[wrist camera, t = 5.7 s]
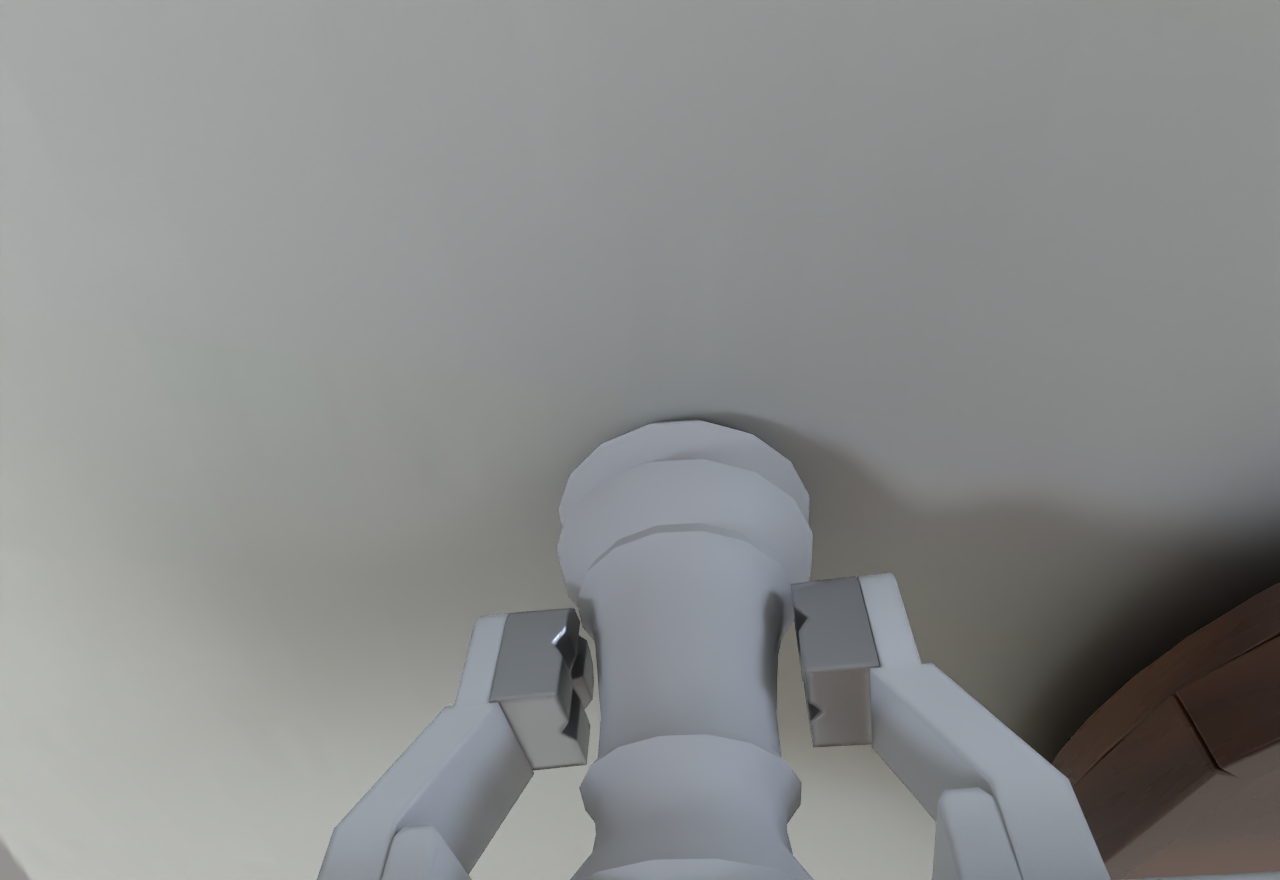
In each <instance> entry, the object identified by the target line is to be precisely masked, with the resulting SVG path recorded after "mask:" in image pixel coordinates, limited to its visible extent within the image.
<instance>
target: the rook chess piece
mask: <svg viewBox="0 0 1280 880" xmlns="http://www.w3.org/2000/svg"><path fill="white" fill-rule="evenodd" d="M809 499H810V496H809V494H808V493H807V491H806V489H805V487H804V485H803V483H802V481H801V480H800V478H799V476H798V474H797V472H796V470H795V468H794V467H793V465H792V463H791V461H789V460H788V459H787V458H785V457H784V456H782V455H781V454H780V453H778V452H777V451H775V450H774V449H773V448H771V447H770V446H768V445H767V444H766V443H764V442H763V441H762V440H760V439H759V438H757V437H756V436H755V435H753V434H750V433H747V432H743V431H740V430H736V429H732V428H728V427H725V426H721V425H717V424H713V423H709V422H706V421H702V420H684V421H668V422H654V423H651V424H648V425H645V426H643V427H641V428H638V429H636V430H633V431H631V432H629V433H626V434H624V435H621V436H619V437H616V438H614V439H612V440H609V441H607V442H604V443H602V444H600V445H599V446H598V447H597V448H596V449H595V450H594V451H593V452H592V453H591V454H590V455H589V456H588V457H587V458H586V459H585V460H584V461H583V462H582V463H581V464H580V465H579V466H578V467H577V468H576V469H575V470H574V471H573V472H572V473H571V474H570V476H569V479H568V482H567V485H566V488H565V491H564V494H563V497H562V500H561V503H560V506H559V510H558V512H559V516H560V521H561V525H562V532H561V535H560V538H559V541H558V544H557V550H558V554H559V559H560V563H561V568H562V572H563V576H564V581H565V585H566V589H567V594H568V597H569V598H570V599H571V601H572V602H573V603H574V604H575V605H576V606H577V607H578V609H579V613H580V617H581V622H582V626H583V628H584V629H585V630H586V632H587V633H588V634H589V635H590V636H591V637H592V638H593V640H594V641H595V645H596V658H597V671H598V684H599V698H600V711H601V723H600V737H599V750H598V759H597V760H596V761H595V762H594V763H593V764H592V765H591V766H590V768H589V770H588V772H587V774H586V776H585V778H584V780H583V782H582V784H581V786H580V792H581V795H582V799H583V803H584V806H585V810H586V811H587V813H588V814H589V815H590V817H591V818H592V819H593V821H594V822H595V825H596V837H595V842H594V847H593V852H592V854H591V855H590V856H589V857H588V859H587V860H586V861H585V862H584V863H583V865H582V866H581V867H580V868H579V870H578V871H577V872H576V873H575V875H574V876H573V877H572V878H571V880H813V879H812V877H811V876H810V875H809V874H808V873H807V872H806V870H805V869H804V868H803V867H802V866H801V864H800V863H799V862H798V861H797V860H796V859H795V857H794V856H793V853H792V849H791V846H790V842H789V838H788V834H787V823H788V822H789V820H790V819H791V818H792V816H793V815H794V813H795V812H796V810H797V809H798V808H799V806H800V802H801V781H800V780H799V778H798V777H797V776H796V774H795V773H794V772H793V770H792V769H791V768H790V767H789V765H788V764H787V763H786V761H785V760H784V759H783V758H782V756H781V748H780V740H779V732H778V724H777V716H776V706H777V669H778V653H779V648H780V643H781V638H782V636H783V635H784V633H785V632H786V630H787V629H788V627H789V626H790V624H791V623H792V621H793V620H794V611H793V604H792V596H791V585H790V584H793V583H801V582H809V579H810V573H811V563H812V542H813V532H812V531H811V529H810V527H809V525H808V523H809Z"/></svg>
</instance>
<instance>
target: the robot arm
mask: <svg viewBox="0 0 1280 880" xmlns="http://www.w3.org/2000/svg"><path fill="white" fill-rule="evenodd" d="M790 585H791V596H792V604H793V611H794V618H795V619H794V622H795V630H796V637H797V646H798V654H799V660H800V666H801V673H802V680H803V682H804V689H805V697H806V705H807V712H808V718H809V724H810V730H811V736H812V742H813V747H826V746H846V745H865V744H872V748H873V749H874V750H875V751H876V752H877V753H878V755H879V756H880V757H881V758H882V759H883V760H884V762H885V763H886V764H887V765H888V766H889V767H890V769H891V770H892V771H893V772H894V773H895V774H896V776H897V777H898V778H899V779H900V780H901V781H902V783H903V784H904V785H905V786H906V787H907V788H908V790H909V791H910V792H911V793H912V794H913V795H914V796H915V798H916V799H917V800H918V801H919V802H920V803H921V805H922V806H923V807H924V808H925V809H926V810H927V812H928V813H929V814H930V815H931V816H932V817H933V819H934V820H935V821H936V834H935V848H934V861H933V874H932V880H1111V879H1110V877H1109V874H1108V872H1107V869H1106V867H1105V865H1104V862H1103V860H1102V858H1101V855H1100V853H1099V850H1098V848H1097V846H1096V843H1095V841H1094V838H1093V836H1092V834H1091V831H1090V829H1089V827H1088V824H1087V822H1086V819H1085V817H1084V815H1083V812H1082V810H1081V807H1080V805H1079V803H1078V800H1077V798H1076V796H1075V793H1074V791H1073V788H1072V786H1071V784H1070V781H1069V779H1068V778H1067V777H1066V776H1064V775H1063V774H1062V773H1061V772H1060V771H1059V770H1057V769H1056V768H1055V767H1054V766H1053V765H1051V764H1050V763H1049V762H1048V761H1047V760H1046V759H1044V758H1043V757H1042V756H1041V755H1040V754H1039V753H1037V752H1036V751H1035V750H1034V749H1033V748H1031V747H1030V746H1029V745H1028V744H1027V743H1026V742H1024V741H1023V740H1022V739H1021V738H1020V737H1019V736H1017V735H1016V734H1015V733H1014V732H1013V731H1011V730H1010V729H1009V728H1008V727H1007V726H1006V725H1004V724H1003V723H1002V722H1001V721H1000V720H999V719H997V718H996V717H995V716H994V715H993V714H991V713H990V712H989V711H988V710H987V709H986V708H984V707H983V706H982V705H981V704H980V703H979V702H977V701H976V700H975V699H974V698H973V697H971V696H970V695H969V694H968V693H967V692H966V691H964V690H963V689H962V688H961V687H960V686H959V685H957V684H956V683H955V682H954V681H953V680H951V679H950V678H949V677H948V676H947V675H946V674H944V673H943V672H942V671H941V670H940V669H939V668H937V667H936V666H935V665H934V664H933V663H923V664H921V660H920V657H919V654H918V650H917V647H916V644H915V641H914V637H913V634H912V631H911V627H910V624H909V621H908V618H907V614H906V611H905V608H904V604H903V601H902V598H901V595H900V591H899V588H898V585H897V582H896V578H895V577H894V576H893V574H892V573H884V574H874V575H865V576H858V577H857V578H856V576H852V577H843V578H835V579H827V580H818V581H810V582H801V583H793V584H790ZM579 626H580V621H579V619H578V616H577V614H576V612H575V609H573V608H566V609H554V610H541V611H529V612H516V613H507V614H496V615H485V616H480V617H479V618H478V620H477V622H476V623H475V625H474V628H473V632H472V636H471V640H470V644H469V648H468V652H467V656H466V660H465V664H464V668H463V672H462V676H461V680H460V684H459V688H458V692H457V696H456V700H455V704H454V706H448V707H445V708H444V709H443V710H442V711H441V712H440V713H439V714H438V715H437V716H436V718H435V719H434V720H433V721H432V722H431V723H430V724H429V725H428V726H427V727H426V728H425V730H424V731H423V732H422V733H421V734H420V735H419V736H418V737H417V738H416V739H415V741H414V742H413V743H412V744H411V745H410V746H409V747H408V748H407V749H406V750H405V751H404V753H403V754H402V755H401V756H400V757H399V758H398V759H397V760H396V761H395V762H394V764H393V765H392V766H391V767H390V768H389V769H388V770H387V771H386V772H385V773H384V774H383V776H382V777H381V778H380V779H379V780H378V781H377V782H376V783H375V784H374V785H373V786H372V788H371V789H370V790H369V791H368V792H367V793H366V794H365V795H364V796H363V797H362V799H361V800H360V801H359V802H358V803H357V804H356V805H355V806H354V807H353V808H352V809H351V811H350V812H349V813H348V814H347V815H346V816H345V817H344V818H343V819H342V820H341V822H340V823H339V824H338V825H337V826H336V827H335V828H334V830H333V833H332V836H331V839H330V842H329V845H328V848H327V851H326V854H325V857H324V860H323V863H322V866H321V869H320V872H319V875H318V878H317V880H471V878H470V877H469V873H470V871H471V870H472V868H473V867H474V865H475V864H476V862H477V861H478V859H479V858H480V856H481V855H482V853H483V851H484V850H485V848H486V847H487V845H488V844H489V842H490V841H491V839H492V838H493V836H494V835H495V833H496V831H497V830H498V828H499V827H500V825H501V824H502V822H503V821H504V819H505V818H506V816H507V815H508V813H509V811H510V810H511V808H512V807H513V805H514V804H515V802H516V801H517V799H518V798H519V796H520V794H521V793H522V791H523V790H524V788H525V787H526V785H527V784H528V782H529V781H530V779H531V778H532V776H533V774H534V772H533V770H541V769H550V768H560V767H569V766H579V765H587V755H588V744H589V734H590V723H589V721H588V718H587V715H586V713H585V708H586V707H587V706H588V705H589V703H590V702H591V701H592V700H593V687H594V677H593V662H592V658H591V653H590V649H589V646H588V643H587V640H585V639H584V638H582V637H580V636H579ZM1122 880H1280V871H1275V872H1256V873H1237V874H1218V875H1198V876H1179V877H1160V878H1141V879H1122Z"/></svg>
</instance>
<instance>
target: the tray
mask: <svg viewBox="0 0 1280 880" xmlns="http://www.w3.org/2000/svg"><path fill="white" fill-rule="evenodd" d="M1051 765H1053V766H1054V767H1055V768H1056V769H1057V770H1059V771H1060V772H1061V773H1062V774H1063V775H1064V776H1066V777H1067V778H1068V779H1069V781H1070V784H1071V786H1072V788H1073V791H1074V793H1075V796H1076V798H1077V800H1078V803H1079V805H1080V807H1081V810H1082V812H1083V815H1084V817H1085V819H1086V822H1087V824H1088V827H1089V829H1090V831H1091V834H1092V836H1093V838H1094V841H1095V843H1096V846H1097V848H1098V850H1099V853H1100V855H1101V858H1102V860H1103V862H1104V865H1105V867H1106V869H1107V872H1108V874H1109V877H1110V879H1111V880H1122V879H1141V878H1160V877H1179V876H1198V875H1218V874H1237V873H1256V872H1275V871H1280V582H1279V583H1277V584H1275V585H1273V586H1271V587H1269V588H1267V589H1265V590H1263V591H1261V592H1259V593H1258V594H1256V595H1254V596H1253V597H1251V598H1249V599H1248V600H1246V601H1245V602H1243V603H1241V604H1240V605H1238V606H1236V607H1235V608H1233V609H1232V610H1230V611H1228V612H1227V613H1225V614H1223V615H1222V616H1220V617H1219V618H1217V619H1215V620H1214V621H1212V622H1210V623H1209V624H1207V625H1205V626H1204V627H1202V628H1201V629H1199V630H1197V631H1196V632H1194V633H1192V634H1191V635H1189V636H1188V637H1186V638H1185V639H1184V640H1182V641H1181V642H1180V643H1178V644H1177V645H1175V646H1174V647H1173V648H1171V649H1170V650H1169V651H1167V652H1166V653H1165V654H1163V655H1162V656H1161V657H1159V658H1158V659H1157V660H1155V661H1154V662H1152V663H1151V664H1150V665H1148V666H1147V667H1146V668H1144V669H1143V670H1142V671H1140V672H1139V673H1138V674H1136V675H1135V676H1134V677H1132V678H1131V679H1130V680H1129V681H1128V682H1127V683H1125V684H1124V685H1123V686H1122V687H1121V688H1120V689H1119V690H1118V691H1117V692H1116V693H1115V694H1113V695H1112V696H1111V697H1110V698H1109V699H1108V700H1107V701H1106V702H1105V703H1104V704H1102V705H1101V706H1100V707H1099V708H1098V709H1097V710H1096V711H1095V712H1094V713H1093V714H1091V715H1090V716H1089V717H1088V718H1087V720H1086V721H1085V722H1084V723H1083V724H1082V725H1081V727H1080V728H1079V729H1078V730H1077V731H1076V733H1075V734H1074V735H1073V736H1072V737H1071V738H1070V740H1069V741H1068V742H1067V743H1066V744H1065V745H1064V747H1063V748H1062V749H1061V750H1060V751H1059V753H1058V754H1057V755H1056V757H1055V759H1054V760H1053V762H1052V764H1051Z"/></svg>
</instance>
